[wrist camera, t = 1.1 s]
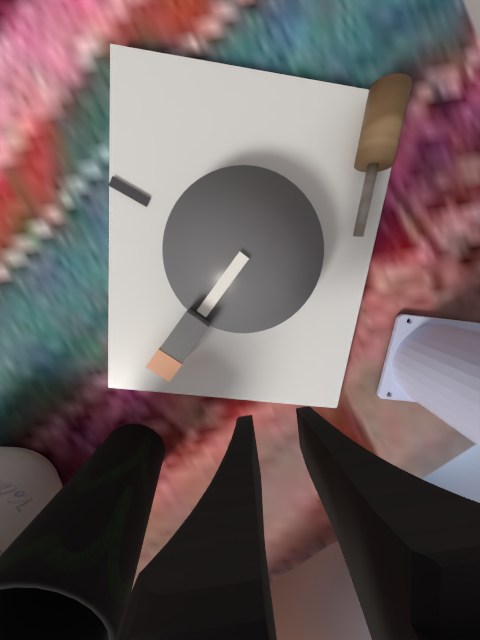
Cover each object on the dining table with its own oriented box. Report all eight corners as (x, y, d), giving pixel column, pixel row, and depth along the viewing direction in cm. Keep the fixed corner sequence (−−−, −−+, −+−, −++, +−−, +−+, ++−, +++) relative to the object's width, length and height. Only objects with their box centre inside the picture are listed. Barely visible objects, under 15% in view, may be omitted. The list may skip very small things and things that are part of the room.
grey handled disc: (227, 140, 16) (226, 109, 13) (344, 241, 18) (368, 236, 15) (109, 318, 18) (85, 328, 15) (223, 393, 20) (222, 416, 17)
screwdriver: (361, 99, 16) (383, 69, 14) (394, 104, 16) (422, 76, 14) (334, 235, 18) (350, 230, 16) (364, 240, 18) (384, 235, 16)
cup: (89, 414, 22) (-79, 587, 10) (173, 412, 22) (105, 577, 10) (100, 484, 23) (-34, 703, 11) (177, 481, 23) (124, 692, 12)
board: (395, 108, 17) (410, 94, 16) (331, 400, 22) (337, 409, 21) (119, 60, 16) (108, 40, 15) (115, 381, 21) (106, 388, 20)
